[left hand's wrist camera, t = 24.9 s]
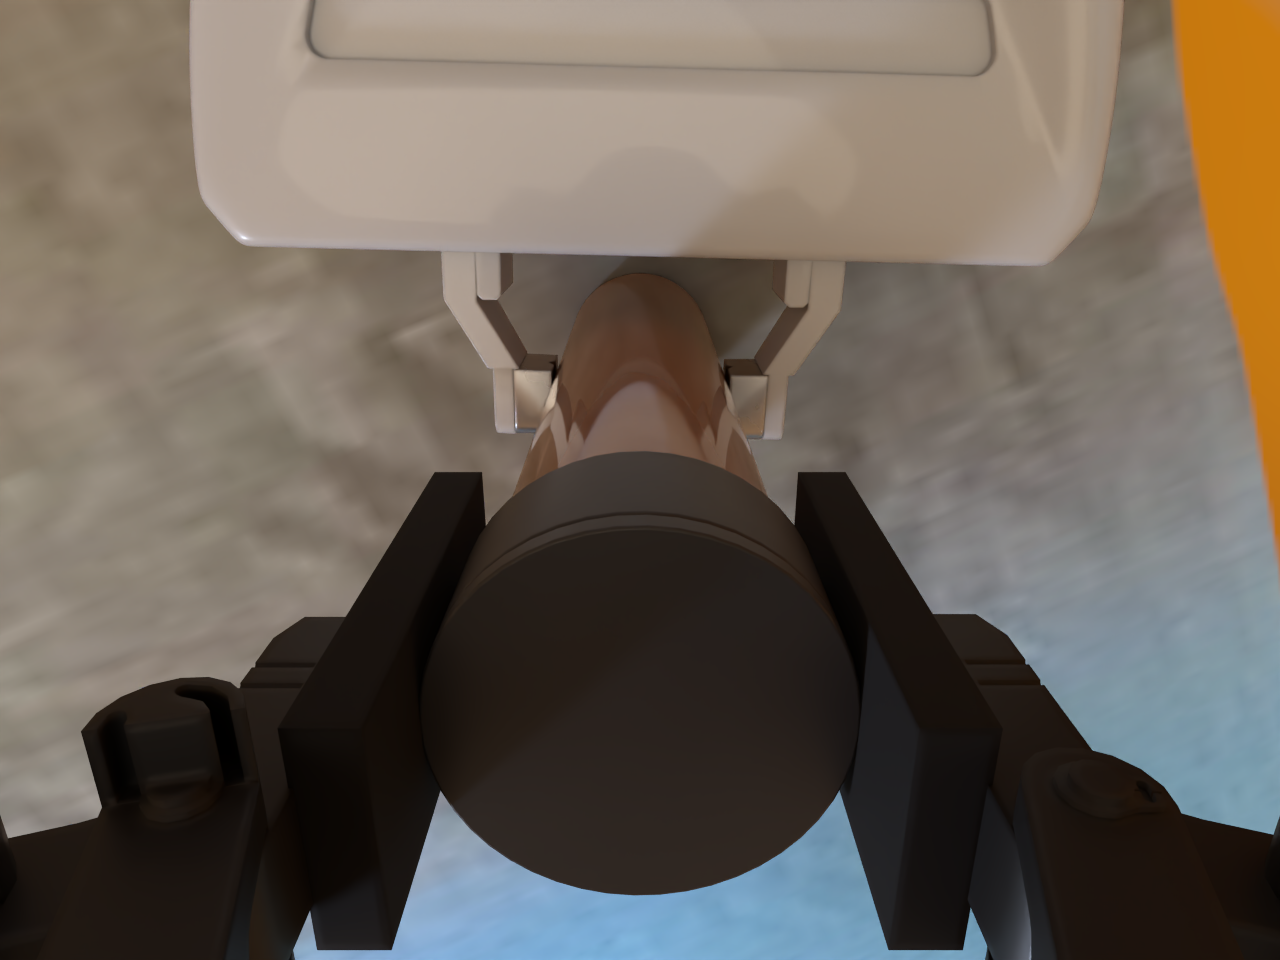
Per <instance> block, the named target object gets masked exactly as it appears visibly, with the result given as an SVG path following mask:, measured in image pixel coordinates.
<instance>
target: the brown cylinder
mask: <svg viewBox="0 0 1280 960" xmlns="http://www.w3.org/2000/svg"><path fill="white" fill-rule="evenodd" d="M632 451H651V452H662V453H672V454H677V455H681V456H686V457H691V458H695V459H699V460H701V461H704V462H707V463H710V464H713V465H715V466H718V467H721V468H723V469H725V470H727V471H729V472H731V473H733V474H735V475H737V476H739V477H740V478H742V479H744V480H745V481H747V482H748V483H750V484H751V485H753V486H754V487H756V488H757V489H758V490H760V491H761V492H763V493H764V494H765V495H766V496H767V493H766V490H765V487H764V485H763V482H762V479H761V476H760V473H759V471H758V468H757V465H756V462H755V459H754V457H753V454H752V451H751V448H750V445H749V443H748V440H747V437H746V434H745V431H744V429H743V426H742V423H741V420H740V417H739V415H738V412H737V409H736V406H735V403H734V401H733V398H732V395H731V392H730V389H729V387H728V384H727V381H726V378H725V375H724V373H723V370H722V367H721V364H720V361H719V359H718V356H717V353H716V350H715V347H714V345H713V342H712V339H711V336H710V333H709V331H708V328H707V325H706V322H705V319H704V317H703V315H702V312H701V310H700V308H699V307H698V305H697V303H696V302H695V301H694V299H693V298H692V297H691V296H690V295H689V294H688V293H687V292H686V291H685V290H684V289H683V288H682V287H680V286H679V285H677V284H676V283H674V282H672V281H670V280H669V279H666V278H663V277H661V276H657V275H653V274H644V273H637V274H628V275H623V276H620V277H616V278H614V279H612V280H610V281H607V282H606V283H604V284H603V285H601V286H600V287H598V288H597V289H596V290H595V291H594V292H592V294H591V295H590V296H589V297H588V298H587V299H586V300H585V302H584V303H583V305H582V306H581V308H580V310H579V312H578V314H577V317H576V320H575V322H574V325H573V328H572V331H571V334H570V336H569V339H568V342H567V345H566V348H565V351H564V353H563V356H562V359H561V362H560V365H559V367H558V370H557V373H556V376H555V379H554V381H553V384H552V387H551V390H550V393H549V395H548V398H547V401H546V404H545V407H544V409H543V412H542V415H541V418H540V421H539V424H538V426H537V429H536V432H535V435H534V438H533V440H532V443H531V446H530V449H529V452H528V454H527V457H526V460H525V463H524V466H523V468H522V471H521V474H520V477H519V480H518V482H517V485H516V488H515V491H514V494H513V496H514V495H516V494H517V493H518V492H519V491H521V490H522V489H523V488H524V487H526V486H527V485H529V484H530V483H532V482H534V481H535V480H537V479H539V478H540V477H542V476H544V475H545V474H547V473H549V472H551V471H553V470H556V469H558V468H560V467H563V466H565V465H567V464H570V463H572V462H576V461H579V460H583V459H586V458H590V457H593V456H598V455H604V454H610V453H617V452H632ZM767 497H768V496H767Z"/></svg>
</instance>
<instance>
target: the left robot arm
mask: <svg viewBox="0 0 1280 960" xmlns="http://www.w3.org/2000/svg"><path fill="white" fill-rule="evenodd" d="M794 526H795V527H796V529H797V531H798V532H799V534H800V536H801V537H802V539H803V541H804V542H805V544H806V546H807V548H808V550H809V553H810V555H811V557H812V560H813V562H814V564H815V567H816V569H817V572H818V574H819V577H820V579H821V582H822V584H823V586H824V589H825V591H826V594H827V596H828V599H829V601H830V604H831V606H832V608H833V611H834V613H835V616H836V618H837V621H838V623H839V626H840V628H841V630H842V633H843V635H844V638H845V640H846V643H847V645H848V648H849V650H850V652H851V655H852V657H853V660H854V664H855V668H856V672H857V676H858V680H859V684H860V695H861V718H860V727H859V736H858V743H857V747H856V752H855V756H854V759H853V761H852V764H851V766H850V769H849V772H848V774H847V777H846V779H845V781H844V783H843V785H842V786H841V788H840V793H841V796H842V799H843V803H844V806H845V809H846V812H847V816H848V819H849V822H850V825H851V829H852V832H853V835H854V839H855V842H856V845H857V848H858V852H859V855H860V858H861V861H862V865H863V868H864V871H865V874H866V878H867V881H868V884H869V888H870V891H871V894H872V897H873V901H874V904H875V907H876V910H877V914H878V917H879V920H880V923H881V927H882V930H883V933H884V937H885V940H886V943H887V946H888V950H963V947H964V941H965V936H966V930H967V924H968V919H969V913H970V908H971V909H972V911H973V914H974V916H975V918H976V920H977V923H978V925H979V927H980V930H981V932H982V934H983V937H984V939H985V941H986V944H987V946H988V947H987V952H986V958H985V960H1280V817H1279V820H1278V823H1277V826H1276V829H1275V832H1274V835H1272V834H1267V833H1263V832H1258V831H1253V830H1249V829H1244V828H1240V827H1235V826H1230V825H1226V824H1221V823H1216V822H1212V821H1207V820H1203V819H1199V818H1196V817H1192V816H1189V815H1185V814H1182V813H1181V812H1180V810H1179V807H1178V806H1177V804H1176V803H1175V801H1174V800H1173V799H1172V797H1171V796H1170V794H1169V793H1168V792H1167V790H1166V789H1165V788H1164V786H1162V785H1161V784H1160V783H1158V782H1157V781H1156V780H1154V779H1153V778H1152V777H1151V776H1149V775H1148V774H1147V773H1145V772H1144V771H1143V770H1141V769H1140V768H1137V767H1135V766H1133V765H1131V764H1129V763H1127V762H1125V761H1123V760H1120V759H1118V758H1116V757H1114V756H1111V755H1107V754H1104V753H1100V752H1096V751H1092V749H1091V748H1090V747H1089V745H1088V744H1087V743H1086V741H1085V740H1084V738H1083V737H1082V736H1081V734H1080V733H1079V732H1078V730H1077V729H1076V728H1075V726H1074V725H1073V724H1072V722H1071V721H1070V720H1069V718H1068V717H1067V715H1066V714H1065V713H1064V711H1063V710H1062V709H1061V707H1060V706H1059V705H1058V703H1057V702H1056V701H1055V699H1054V698H1053V697H1052V695H1051V694H1050V692H1049V691H1048V690H1047V688H1046V687H1045V686H1044V685H1041V684H1040V679H1039V678H1038V676H1037V675H1036V674H1035V672H1034V671H1033V669H1032V668H1031V667H1030V665H1026V664H1025V659H1024V657H1023V656H1022V655H1021V653H1020V652H1019V650H1018V649H1017V648H1016V646H1015V645H1014V644H1013V642H1012V641H1011V640H1010V638H1009V637H1008V636H1007V635H1006V634H1005V633H1003V632H1002V631H1000V630H999V629H997V628H996V627H994V626H993V625H991V624H990V623H988V622H987V621H985V620H984V619H982V618H981V617H979V616H978V615H976V614H932V612H931V611H930V609H929V607H928V606H927V604H926V602H925V601H924V599H923V598H922V596H921V594H920V593H919V591H918V589H917V588H916V586H915V585H914V583H913V581H912V580H911V578H910V576H909V575H908V573H907V572H906V570H905V568H904V567H903V565H902V563H901V562H900V560H899V559H898V557H897V555H896V554H895V552H894V550H893V549H892V547H891V546H890V544H889V542H888V541H887V539H886V537H885V536H884V534H883V533H882V531H881V529H880V528H879V526H878V524H877V523H876V521H875V520H874V518H873V516H872V515H871V513H870V511H869V510H868V508H867V507H866V505H865V503H864V502H863V500H862V498H861V497H860V495H859V494H858V492H857V490H856V489H855V487H854V485H853V484H852V482H851V481H850V479H849V477H848V476H847V474H846V472H798V482H797V497H796V511H795V525H794ZM485 527H486V523H485V509H484V494H483V480H482V472H435V473H434V474H433V476H432V478H431V479H430V481H429V482H428V484H427V486H426V487H425V489H424V491H423V492H422V494H421V495H420V497H419V499H418V500H417V502H416V504H415V505H414V507H413V508H412V510H411V512H410V513H409V515H408V517H407V518H406V520H405V521H404V523H403V525H402V526H401V528H400V530H399V531H398V533H397V534H396V536H395V538H394V539H393V541H392V543H391V544H390V546H389V547H388V549H387V551H386V552H385V554H384V556H383V557H382V559H381V561H380V562H379V564H378V565H377V567H376V569H375V570H374V572H373V574H372V575H371V577H370V578H369V580H368V582H367V583H366V585H365V587H364V588H363V590H362V591H361V593H360V595H359V596H358V598H357V600H356V601H355V603H354V604H353V606H352V608H351V609H350V611H349V613H348V614H347V616H346V617H304V618H303V619H301V620H300V621H298V622H297V623H295V624H294V625H292V626H291V627H289V628H288V629H286V630H285V631H283V632H282V633H280V634H279V635H277V636H276V637H274V638H273V639H272V641H271V642H270V644H269V645H268V646H267V648H266V649H265V650H264V652H263V653H262V654H261V656H260V657H259V659H258V660H257V661H256V665H255V668H251V669H250V671H249V672H248V674H247V675H246V676H245V678H244V679H243V680H242V682H241V683H240V684H241V686H240V688H237V687H236V686H234V685H233V684H232V683H231V682H227V681H223V680H219V679H215V678H210V677H197V678H179V679H174V680H170V681H165V682H161V683H157V684H152V685H149V686H146V687H144V688H142V689H139V690H137V691H134V692H132V693H130V694H127V695H125V696H122V697H120V698H119V699H117V700H116V701H114V702H113V703H111V704H110V705H108V706H107V707H105V708H104V709H102V710H101V711H99V712H98V713H96V714H95V715H94V717H93V718H92V719H91V720H90V721H89V723H88V724H87V725H86V726H85V727H84V728H83V730H82V731H81V733H82V737H83V740H84V744H85V748H86V751H87V755H88V758H89V762H90V765H91V769H92V773H93V776H94V780H95V783H96V787H97V791H98V794H99V798H100V801H101V805H102V809H101V811H100V814H99V816H98V818H95V819H91V820H88V821H84V822H81V823H77V824H72V825H68V826H63V827H58V828H54V829H49V830H45V831H40V832H35V833H31V834H26V835H22V836H17V837H12V838H8V837H7V834H6V831H5V828H4V825H3V822H2V819H1V816H0V960H295V958H294V952H293V949H294V946H295V944H296V942H297V939H298V937H299V935H300V932H301V930H302V928H303V925H304V923H305V921H306V918H307V916H308V914H309V911H310V912H311V918H312V923H313V929H314V935H315V940H316V946H317V950H392V947H393V944H394V940H395V937H396V934H397V931H398V927H399V924H400V921H401V918H402V914H403V911H404V908H405V904H406V901H407V898H408V895H409V891H410V888H411V885H412V882H413V878H414V875H415V872H416V868H417V865H418V862H419V859H420V855H421V852H422V849H423V846H424V842H425V839H426V836H427V833H428V829H429V826H430V823H431V819H432V816H433V813H434V810H435V806H436V803H437V800H438V797H439V793H440V788H439V786H438V784H437V782H436V780H435V778H434V776H433V774H432V771H431V769H430V767H429V763H428V760H427V757H426V754H425V751H424V747H423V742H422V734H421V725H420V715H419V694H420V688H421V682H422V676H423V671H424V668H425V665H426V662H427V659H428V656H429V653H430V650H431V647H432V645H433V642H434V640H435V637H436V635H437V633H438V630H439V628H440V625H441V623H442V620H443V618H444V616H445V613H446V611H447V608H448V606H449V603H450V601H451V598H452V596H453V594H454V591H455V589H456V586H457V584H458V581H459V579H460V577H461V574H462V572H463V569H464V567H465V564H466V562H467V559H468V557H469V555H470V553H471V551H472V549H473V547H474V545H475V543H476V541H477V539H478V537H479V535H480V534H481V532H482V531H483V530H484V528H485Z"/></svg>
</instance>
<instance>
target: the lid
mask: <svg viewBox="0 0 1280 960" xmlns="http://www.w3.org/2000/svg"><path fill="white" fill-rule="evenodd" d="M419 715H420V725H421V734H422V742H423V747H424V751H425V754H426V757H427V760H428V763H429V767H430V769H431V771H432V774H433V776H434V778H435V780H436V782H437V784H438V786H439V788H440V790H441V792H442V793H443V795H444V796H445V798H446V799H447V801H448V802H449V804H450V805H451V807H452V808H453V810H454V811H455V812H456V813H457V814H458V816H459V817H460V818H461V819H462V820H463V821H464V822H465V824H466V825H467V826H468V827H469V828H470V829H471V830H472V831H473V832H474V833H475V834H477V835H478V836H479V837H480V838H481V839H482V840H483V841H484V842H486V843H487V844H488V845H489V846H490V847H492V848H493V849H495V850H496V851H498V852H499V853H501V854H502V855H503V856H505V857H506V858H508V859H509V860H511V861H513V862H515V863H517V864H518V865H520V866H522V867H524V868H526V869H528V870H530V871H532V872H534V873H536V874H539V875H541V876H544V877H546V878H549V879H551V880H554V881H556V882H560V883H563V884H567V885H570V886H574V887H577V888H581V889H586V890H592V891H597V892H603V893H610V894H624V895H661V894H668V893H676V892H684V891H690V890H694V889H698V888H703V887H707V886H711V885H714V884H717V883H720V882H723V881H726V880H729V879H732V878H735V877H737V876H739V875H742V874H744V873H746V872H748V871H750V870H752V869H754V868H757V867H759V866H761V865H762V864H764V863H765V862H767V861H769V860H770V859H772V858H774V857H775V856H777V855H779V854H780V853H782V852H783V851H784V850H786V849H787V848H788V847H789V846H791V845H792V844H793V843H795V842H796V841H797V840H798V839H800V838H801V837H802V836H803V835H804V834H805V833H806V832H807V831H808V830H809V829H810V828H811V827H812V826H813V825H814V824H815V823H816V822H817V821H818V820H819V819H820V817H821V816H822V815H823V813H824V812H825V811H826V809H827V808H828V807H829V806H830V804H831V803H832V802H833V800H834V799H835V797H836V795H837V793H838V792H839V790H840V788H841V786H842V785H843V783H844V781H845V779H846V777H847V774H848V772H849V769H850V766H851V764H852V761H853V759H854V756H855V752H856V747H857V743H858V736H859V727H860V718H861V695H860V684H859V680H858V676H857V672H856V668H855V664H854V660H853V657H852V655H851V652H850V650H849V648H848V645H847V643H846V640H845V638H844V635H843V633H842V630H841V628H840V626H839V623H838V621H837V618H836V616H835V613H834V611H833V608H832V606H831V604H830V601H829V599H828V596H827V594H826V591H825V589H824V586H823V584H822V582H821V579H820V577H819V574H818V572H817V569H816V567H815V564H814V562H813V560H812V557H811V555H810V553H809V550H808V548H807V546H806V544H805V542H804V541H803V539H802V537H801V536H800V534H799V532H798V531H797V529H796V527H795V526H794V525H793V523H792V522H791V521H790V520H789V519H788V517H787V516H786V515H785V514H784V513H783V511H782V510H781V509H780V508H779V507H778V506H777V505H776V504H775V503H774V502H773V501H771V500H770V499H769V498H768V497H767V496H766V495H765V494H764V493H763V492H761V491H760V490H758V489H757V488H756V487H754V486H753V485H751V484H750V483H748V482H747V481H745V480H744V479H742V478H740V477H739V476H737V475H735V474H733V473H731V472H729V471H727V470H725V469H723V468H721V467H718V466H715V465H713V464H710V463H707V462H704V461H701V460H699V459H695V458H691V457H686V456H681V455H677V454H672V453H662V452H651V451H632V452H617V453H610V454H604V455H598V456H593V457H590V458H586V459H583V460H579V461H576V462H572V463H570V464H567V465H565V466H563V467H560V468H558V469H556V470H553V471H551V472H549V473H547V474H545V475H544V476H542V477H540V478H539V479H537V480H535V481H534V482H532V483H530V484H529V485H527V486H526V487H524V488H523V489H522V490H521V491H519V492H518V493H517V494H516V495H514V496H513V497H512V498H511V499H509V500H508V501H507V502H506V503H505V504H504V505H503V507H502V508H501V509H500V510H499V511H498V512H497V513H496V514H495V515H494V516H493V517H492V518H491V520H490V521H489V523H488V524H487V525H486V527H485V528H484V530H483V531H482V532H481V534H480V535H479V537H478V539H477V541H476V543H475V545H474V547H473V549H472V551H471V553H470V555H469V557H468V559H467V562H466V564H465V567H464V569H463V572H462V574H461V577H460V579H459V581H458V584H457V586H456V589H455V591H454V594H453V596H452V598H451V601H450V603H449V606H448V608H447V611H446V613H445V616H444V618H443V620H442V623H441V625H440V628H439V630H438V633H437V635H436V637H435V640H434V642H433V645H432V647H431V650H430V653H429V656H428V659H427V662H426V665H425V668H424V671H423V676H422V682H421V688H420V694H419Z"/></svg>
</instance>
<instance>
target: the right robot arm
mask: <svg viewBox="0 0 1280 960" xmlns="http://www.w3.org/2000/svg"><path fill="white" fill-rule="evenodd" d="M1123 14H1124V0H190V92H191V112H192V128H193V141H194V152H195V164H196V172H197V180H198V186H199V190H200V194H201V197H202V199H203V201H204V203H205V204H206V206H207V207H208V208H209V210H210V211H211V212H212V213H213V214H214V215H215V217H216V218H217V219H218V220H219V221H220V222H221V223H222V225H223V226H224V227H225V228H226V229H227V230H228V232H229V233H230V234H231V235H232V236H233V237H234V238H235V239H236V240H237V241H238V242H240V243H242V244H244V245H247V246H259V247H295V248H334V249H373V250H413V251H441V258H442V276H443V294H444V301H445V302H446V304H447V305H448V307H449V309H450V310H451V312H452V313H453V315H454V316H455V318H456V319H457V321H458V323H459V324H460V326H461V327H462V329H463V330H464V332H465V333H466V335H467V337H468V338H469V340H470V341H471V343H472V344H473V346H474V347H475V349H476V351H477V352H478V354H479V355H480V357H481V358H482V360H483V362H484V363H485V365H486V366H487V368H490V369H493V382H494V407H495V426H496V430H497V432H498V433H511V434H516V433H535V432H536V429H537V426H538V424H539V421H540V418H541V415H542V412H543V409H544V407H545V404H546V401H547V398H548V395H549V393H550V390H551V387H552V384H553V381H554V379H555V376H556V373H557V370H558V357H557V355H547V354H527V351H526V349H525V347H524V345H523V344H522V342H521V340H520V338H519V337H518V335H517V333H516V331H515V330H514V328H513V326H512V324H511V323H510V321H509V319H508V317H507V316H506V314H505V312H504V310H503V309H502V307H501V305H500V303H499V302H498V300H497V299H498V298H499V297H500V296H501V295H502V294H503V293H504V292H505V291H506V290H507V288H508V287H509V286H510V285H511V284H512V283H513V259H512V253H531V254H571V255H610V256H650V257H689V258H729V259H768V260H774V268H773V284H772V289H773V290H774V292H775V293H776V294H777V295H778V296H779V297H780V299H781V300H782V301H783V302H784V303H785V304H786V305H787V307H786V309H785V310H784V312H783V313H782V315H781V316H780V318H779V319H778V321H777V323H776V324H775V326H774V327H773V329H772V330H771V332H770V333H769V335H768V336H767V338H766V340H765V341H764V343H763V344H762V346H761V347H760V349H759V350H758V352H757V354H756V355H755V357H754V358H755V359H724V368H723V373H724V375H725V378H726V381H727V384H728V387H729V389H730V392H731V395H732V398H733V401H734V403H735V406H736V409H737V412H738V415H739V417H740V420H741V423H742V426H743V429H744V431H745V434H746V437H747V439H774V440H780V439H781V437H782V434H783V430H784V421H785V409H786V398H787V387H788V376H794V374H795V373H796V372H797V370H798V369H799V367H800V366H801V365H802V363H803V362H804V361H805V359H806V358H807V356H808V355H809V354H810V352H811V351H812V349H813V348H814V347H815V345H816V344H817V342H818V341H819V340H820V338H821V337H822V335H823V334H824V333H825V331H826V330H827V329H828V327H829V326H830V324H831V323H832V322H833V320H834V319H835V317H836V316H837V315H838V313H839V312H840V310H841V303H842V294H843V285H844V277H845V268H846V261H847V262H887V263H926V264H966V265H1006V266H1043V265H1047V264H1048V263H1050V262H1052V261H1053V260H1054V259H1055V258H1056V257H1057V256H1058V255H1059V254H1061V253H1062V252H1063V251H1064V250H1065V249H1066V247H1067V246H1068V245H1069V244H1070V243H1071V242H1072V241H1073V240H1074V239H1075V238H1076V237H1077V236H1078V234H1079V233H1080V232H1081V231H1082V230H1083V229H1084V228H1085V227H1086V226H1087V224H1088V223H1089V221H1090V219H1091V217H1092V215H1093V212H1094V209H1095V206H1096V203H1097V200H1098V196H1099V191H1100V187H1101V183H1102V177H1103V172H1104V167H1105V162H1106V157H1107V151H1108V145H1109V139H1110V133H1111V127H1112V120H1113V113H1114V106H1115V99H1116V90H1117V81H1118V72H1119V63H1120V52H1121V41H1122V29H1123Z"/></svg>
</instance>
